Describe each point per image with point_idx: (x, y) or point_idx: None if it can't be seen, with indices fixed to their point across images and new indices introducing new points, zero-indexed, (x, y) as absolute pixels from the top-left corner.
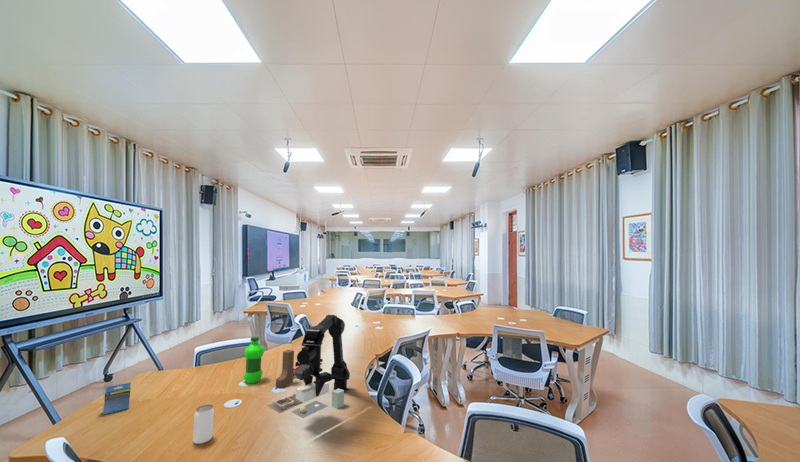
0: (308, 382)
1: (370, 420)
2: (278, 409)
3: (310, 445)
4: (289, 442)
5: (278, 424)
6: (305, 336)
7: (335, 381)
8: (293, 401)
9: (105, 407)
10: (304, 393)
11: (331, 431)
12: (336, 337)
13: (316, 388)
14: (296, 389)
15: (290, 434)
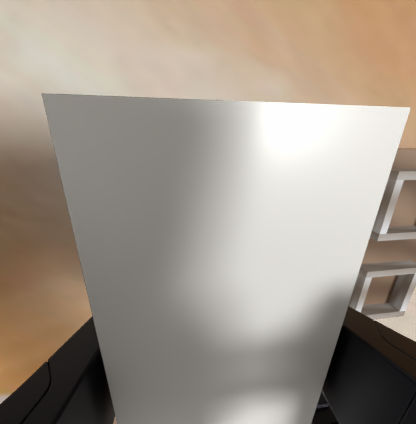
0: (357, 381)
1: (33, 356)
2: (398, 164)
3: (14, 77)
4: (122, 18)
5: (309, 95)
6: None
7: (327, 414)
8: (380, 234)
9: None
10: (56, 105)
11: (65, 219)
12: None
13: (44, 378)
14: (381, 108)
15: (187, 75)
